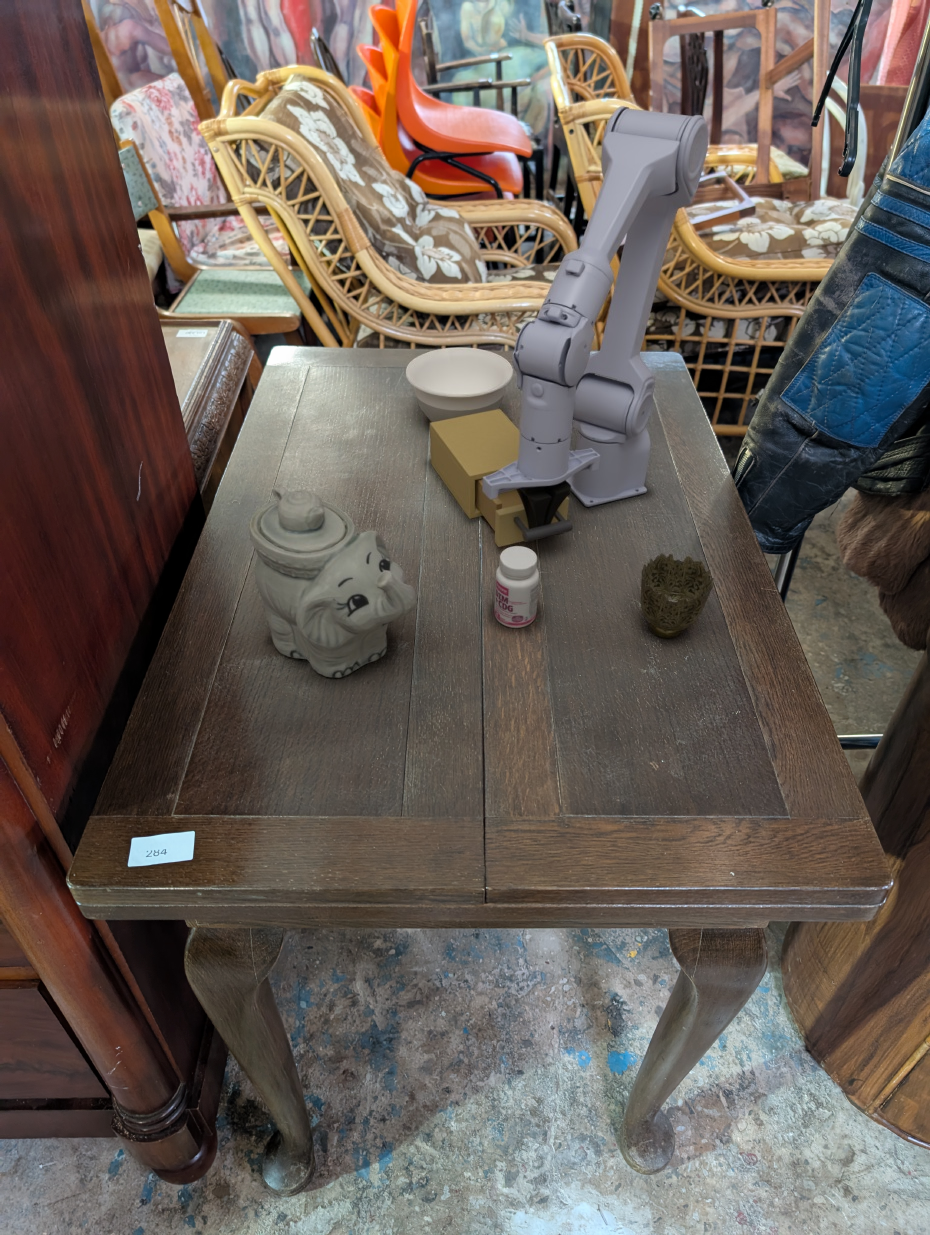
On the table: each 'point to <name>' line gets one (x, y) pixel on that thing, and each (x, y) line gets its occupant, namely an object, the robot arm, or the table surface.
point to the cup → (673, 593)
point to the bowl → (458, 381)
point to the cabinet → (472, 452)
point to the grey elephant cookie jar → (325, 583)
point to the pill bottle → (516, 587)
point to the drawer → (516, 517)
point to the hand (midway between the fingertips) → (537, 531)
